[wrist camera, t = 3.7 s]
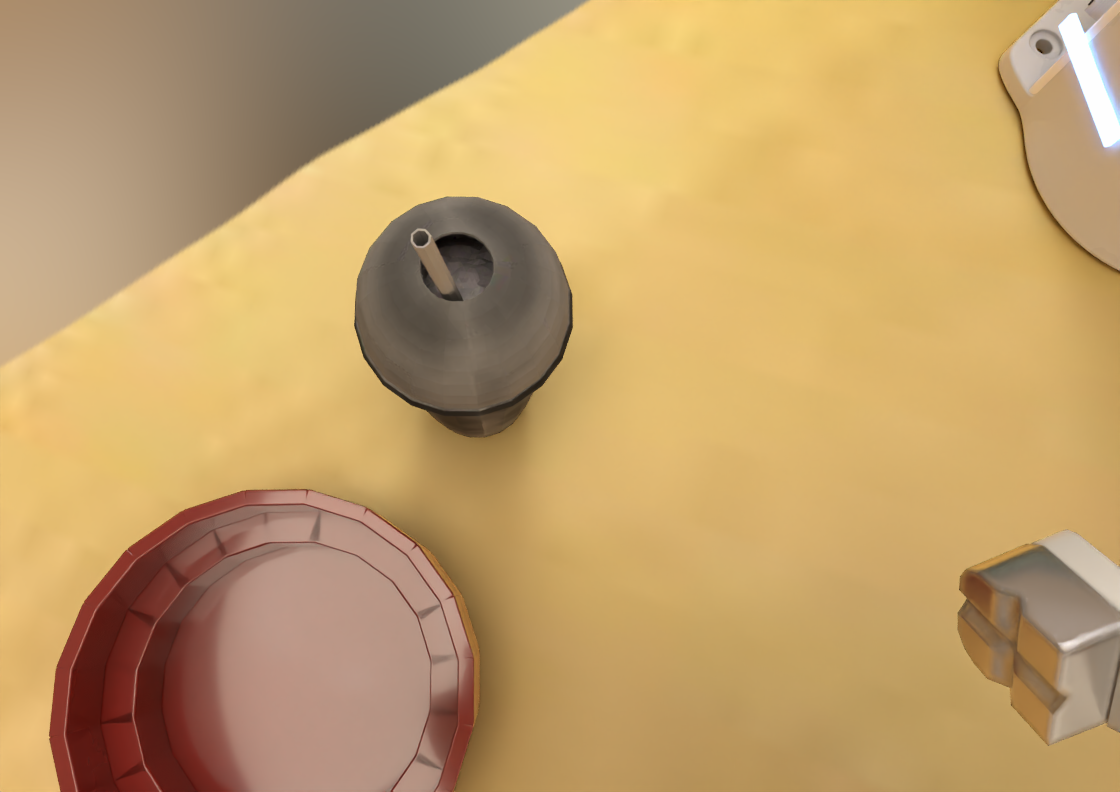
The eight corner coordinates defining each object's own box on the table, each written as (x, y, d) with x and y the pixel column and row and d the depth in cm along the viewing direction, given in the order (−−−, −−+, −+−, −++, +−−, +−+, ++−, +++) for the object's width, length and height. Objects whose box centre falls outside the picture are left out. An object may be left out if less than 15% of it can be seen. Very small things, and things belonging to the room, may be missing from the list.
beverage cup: (584, 356, 41) (646, 139, 22) (512, 496, 40) (510, 396, 20) (445, 287, 42) (384, 13, 22) (368, 423, 40) (230, 256, 20)
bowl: (277, 440, 40) (236, 413, 34) (548, 635, 38) (554, 642, 32) (48, 729, 36) (-41, 754, 31) (334, 952, 35) (299, 1023, 29)
